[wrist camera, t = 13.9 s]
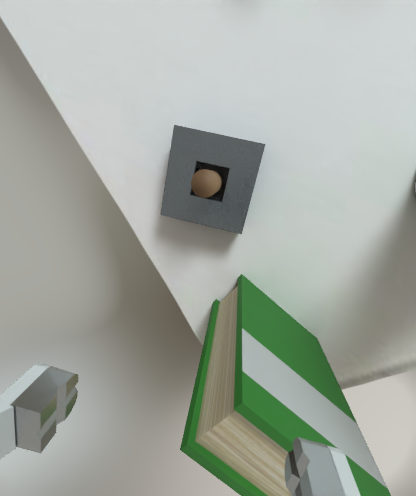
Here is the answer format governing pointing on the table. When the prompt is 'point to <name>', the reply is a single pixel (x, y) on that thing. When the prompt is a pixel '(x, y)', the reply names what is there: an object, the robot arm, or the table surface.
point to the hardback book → (267, 399)
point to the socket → (219, 154)
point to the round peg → (206, 183)
